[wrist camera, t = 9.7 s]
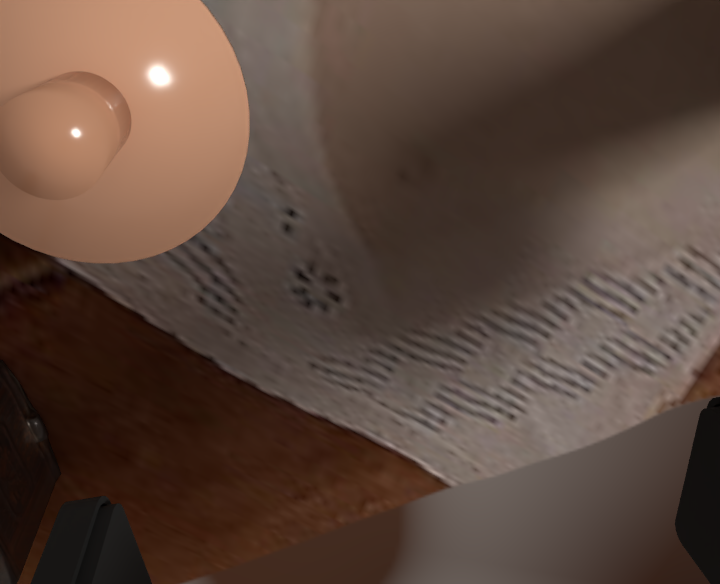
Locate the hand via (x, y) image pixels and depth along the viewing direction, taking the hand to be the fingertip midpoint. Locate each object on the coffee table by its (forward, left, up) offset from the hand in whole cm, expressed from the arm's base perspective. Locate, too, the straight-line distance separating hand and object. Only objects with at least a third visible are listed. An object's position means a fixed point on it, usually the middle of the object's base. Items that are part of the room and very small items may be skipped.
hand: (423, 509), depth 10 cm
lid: (+8, -4, -19) cm, 21 cm away
